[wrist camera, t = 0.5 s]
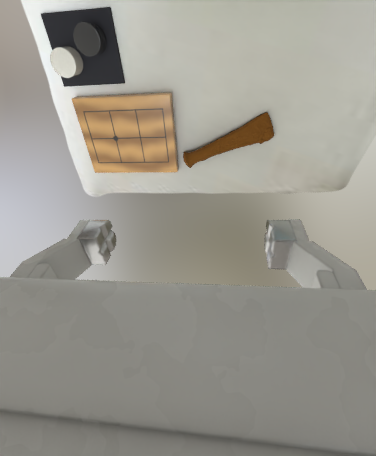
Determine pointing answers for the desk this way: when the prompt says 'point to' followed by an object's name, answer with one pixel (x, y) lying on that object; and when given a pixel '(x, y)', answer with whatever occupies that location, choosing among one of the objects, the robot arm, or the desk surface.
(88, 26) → the black stone
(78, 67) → the white stone
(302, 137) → the desk surface
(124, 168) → the go board
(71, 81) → the stone mat
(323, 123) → the desk surface
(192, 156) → the primitive tool
